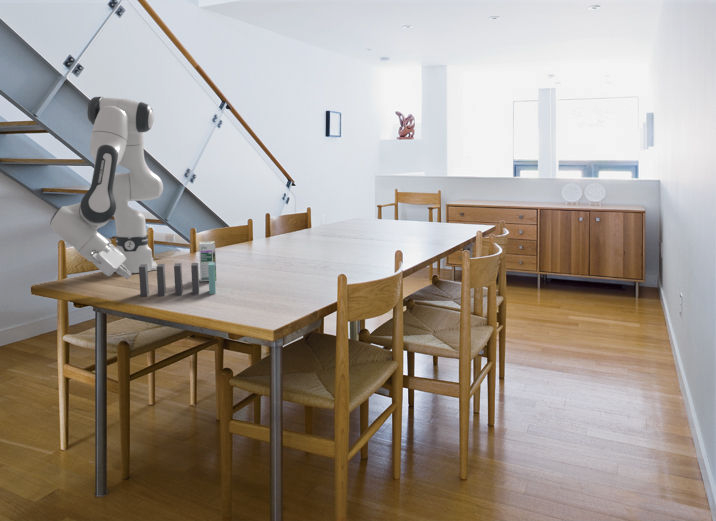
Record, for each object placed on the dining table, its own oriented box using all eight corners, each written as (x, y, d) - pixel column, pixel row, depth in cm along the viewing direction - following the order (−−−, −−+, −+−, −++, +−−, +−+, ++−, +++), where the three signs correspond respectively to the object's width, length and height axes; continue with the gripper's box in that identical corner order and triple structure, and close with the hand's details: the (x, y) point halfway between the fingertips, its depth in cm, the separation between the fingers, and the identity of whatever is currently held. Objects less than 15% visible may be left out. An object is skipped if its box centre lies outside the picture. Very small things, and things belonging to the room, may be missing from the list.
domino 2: (158, 296, 190) (156, 266, 189) (159, 292, 195) (158, 263, 193) (164, 296, 191) (162, 266, 189) (165, 292, 196) (164, 263, 194)
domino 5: (209, 294, 194) (208, 265, 192) (209, 290, 199) (208, 262, 197) (215, 293, 194) (214, 264, 193) (215, 290, 199) (214, 262, 197)
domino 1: (140, 296, 189) (138, 267, 187) (142, 293, 194) (141, 264, 192) (147, 296, 190) (145, 267, 188) (148, 293, 194) (147, 264, 193)
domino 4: (192, 294, 193) (191, 265, 191) (193, 291, 198) (192, 262, 196) (198, 294, 193) (197, 265, 191) (199, 291, 198) (198, 262, 196)
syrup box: (200, 282, 212) (199, 243, 209) (200, 278, 217) (198, 241, 215) (216, 281, 213) (215, 243, 211) (215, 278, 219) (214, 240, 216)
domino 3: (175, 295, 192) (173, 266, 190) (176, 292, 196) (175, 263, 195) (181, 295, 192) (180, 266, 190) (182, 291, 197) (181, 263, 195)
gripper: (95, 246, 176) (131, 276, 180) (108, 237, 196) (140, 264, 199) (81, 261, 176) (117, 290, 180) (95, 250, 195) (128, 277, 199)
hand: (129, 276), depth 190 cm, fingers closed
